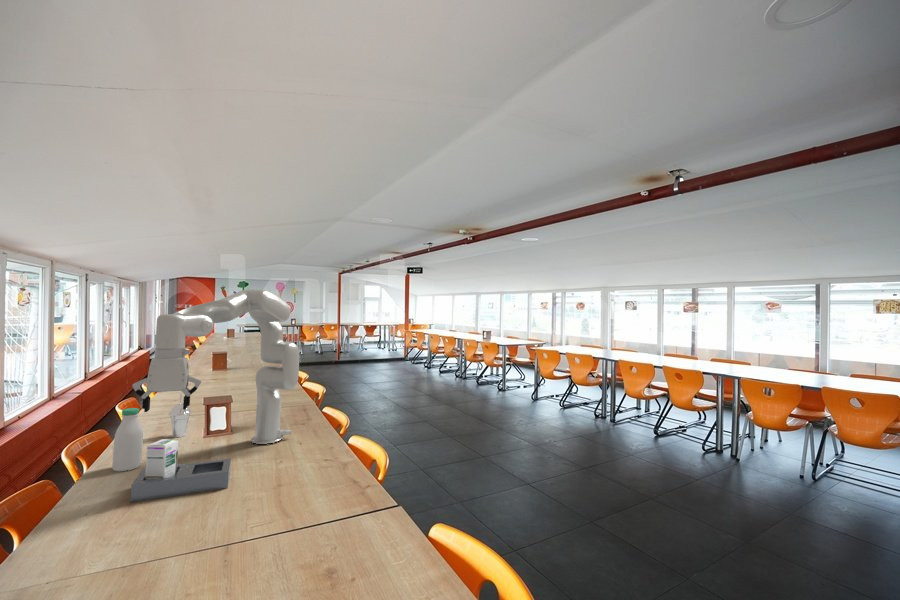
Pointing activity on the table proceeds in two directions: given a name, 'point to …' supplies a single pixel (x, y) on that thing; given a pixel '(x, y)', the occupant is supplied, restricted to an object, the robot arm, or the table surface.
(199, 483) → the slotted tray
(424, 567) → the table surface
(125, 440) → the milk bottle
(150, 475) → the syrup box
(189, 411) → the cup with straw
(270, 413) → the robot arm
